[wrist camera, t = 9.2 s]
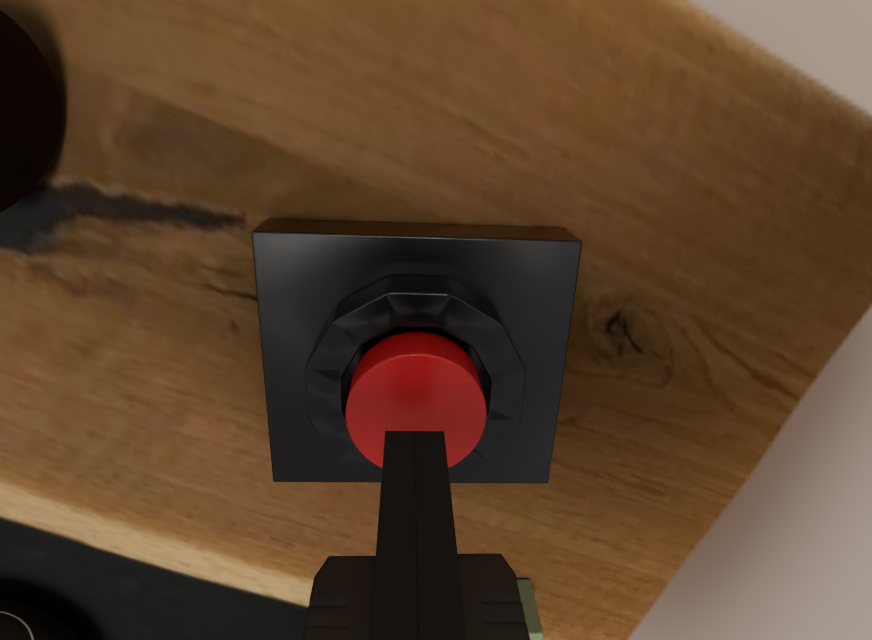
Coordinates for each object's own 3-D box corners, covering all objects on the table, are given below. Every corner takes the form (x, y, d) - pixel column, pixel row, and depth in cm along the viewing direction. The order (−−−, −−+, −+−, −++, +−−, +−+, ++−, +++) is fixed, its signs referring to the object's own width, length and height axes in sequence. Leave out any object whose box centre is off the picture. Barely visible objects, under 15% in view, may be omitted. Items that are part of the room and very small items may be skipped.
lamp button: (485, 332, 18) (492, 354, 16) (475, 444, 19) (481, 476, 18) (349, 329, 17) (343, 352, 16) (352, 443, 19) (346, 475, 17)
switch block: (565, 227, 20) (600, 254, 16) (536, 451, 24) (559, 515, 20) (267, 218, 19) (233, 244, 16) (285, 449, 23) (261, 514, 19)
